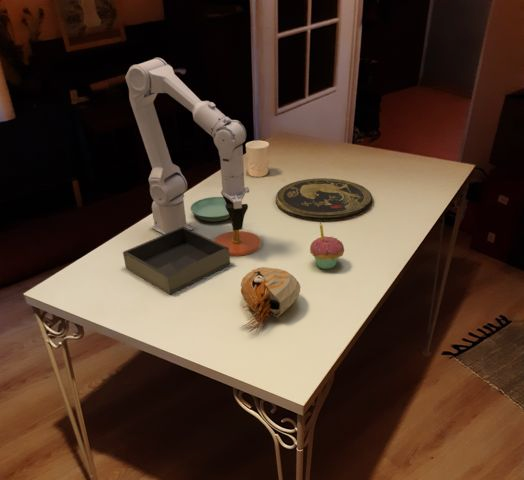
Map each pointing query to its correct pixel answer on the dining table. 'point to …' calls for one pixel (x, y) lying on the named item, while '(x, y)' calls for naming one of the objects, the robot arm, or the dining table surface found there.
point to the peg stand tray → (176, 259)
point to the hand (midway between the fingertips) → (235, 223)
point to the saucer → (210, 209)
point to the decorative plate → (324, 199)
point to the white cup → (257, 158)
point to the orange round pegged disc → (239, 242)
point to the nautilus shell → (269, 292)
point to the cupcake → (326, 250)
